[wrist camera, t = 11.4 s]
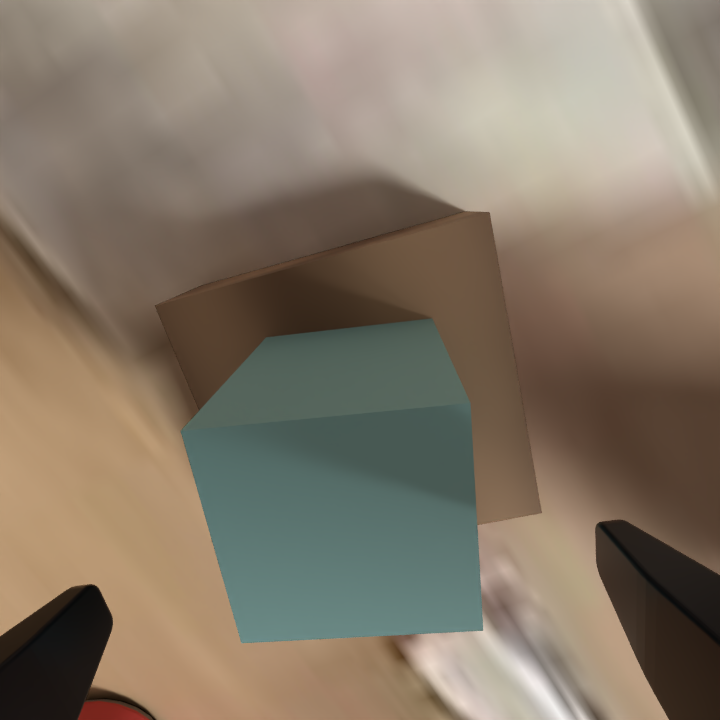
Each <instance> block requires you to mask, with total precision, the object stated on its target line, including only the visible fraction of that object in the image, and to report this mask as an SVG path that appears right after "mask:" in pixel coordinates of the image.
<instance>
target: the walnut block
mask: <svg viewBox="0 0 720 720" xmlns="http://www.w3.org/2000/svg"><path fill="white" fill-rule="evenodd" d="M155 307H156V310H157V312H158V314H159V317H160V319H161V321H162V324H163V326H164V328H165V331H166V333H167V336H168V338H169V340H170V343H171V345H172V347H173V350H174V352H175V354H176V357H177V359H178V361H179V364H180V366H181V369H182V371H183V373H184V376H185V378H186V380H187V383H188V385H189V387H190V390H191V392H192V394H193V397H194V399H195V401H196V404H197V406H198V409H199V410H200V409H201V408H202V407H203V406H204V405H205V404H206V403H207V402H208V401H209V399H210V398H211V397H212V396H213V395H214V394H215V393H216V392H217V391H218V390H219V388H220V387H221V386H222V385H223V384H224V383H225V382H226V381H227V380H228V379H229V378H230V376H231V375H232V374H233V373H234V372H235V371H236V370H237V369H238V368H239V367H240V366H241V364H242V363H243V362H244V361H245V360H246V359H247V358H248V357H249V356H250V355H251V354H252V352H253V351H254V350H255V349H256V348H257V347H258V346H259V345H260V344H261V343H262V341H263V340H264V339H265V338H266V337H274V336H283V335H291V334H300V333H309V332H317V331H326V330H335V329H344V328H352V327H361V326H370V325H379V324H387V323H396V322H405V321H414V320H423V319H431V318H432V319H433V321H434V323H435V326H436V328H437V330H438V332H439V334H440V337H441V339H442V341H443V343H444V346H445V348H446V350H447V352H448V354H449V357H450V359H451V361H452V363H453V365H454V368H455V370H456V372H457V374H458V376H459V379H460V381H461V383H462V385H463V388H464V390H465V392H466V394H467V396H468V399H469V401H470V403H471V421H472V439H473V457H474V475H475V493H476V511H477V525H480V524H486V523H491V522H496V521H502V520H507V519H512V518H517V517H523V516H528V515H533V514H539V513H542V511H541V506H540V500H539V494H538V488H537V483H536V477H535V471H534V465H533V460H532V454H531V448H530V442H529V437H528V431H527V425H526V419H525V414H524V408H523V402H522V396H521V391H520V385H519V379H518V373H517V368H516V362H515V356H514V350H513V345H512V339H511V333H510V327H509V322H508V316H507V310H506V304H505V299H504V293H503V287H502V281H501V276H500V270H499V264H498V258H497V253H496V247H495V241H494V235H493V230H492V224H491V218H490V213H489V212H468V211H465V212H462V213H458V214H455V215H451V216H448V217H444V218H441V219H437V220H433V221H430V222H426V223H423V224H419V225H416V226H412V227H409V228H405V229H401V230H398V231H394V232H391V233H387V234H384V235H380V236H377V237H373V238H369V239H366V240H362V241H359V242H355V243H352V244H348V245H345V246H341V247H337V248H334V249H330V250H327V251H323V252H320V253H316V254H313V255H309V256H305V257H302V258H298V259H295V260H291V261H288V262H284V263H281V264H277V265H273V266H270V267H266V268H263V269H259V270H256V271H252V272H249V273H245V274H241V275H238V276H234V277H231V278H227V279H224V280H220V281H217V282H213V283H209V284H206V285H202V286H200V287H197V288H195V289H193V290H190V291H188V292H186V293H183V294H181V295H179V296H176V297H174V298H172V299H169V300H167V301H165V302H162V303H160V304H158V305H155Z"/></svg>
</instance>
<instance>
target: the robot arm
mask: <svg viewBox="0 0 720 720" xmlns="http://www.w3.org/2000/svg"><path fill="white" fill-rule="evenodd" d="M595 537H596V563H597V568H598V572H599V575H600V577H601V580H602V582H603V584H604V586H605V589H606V591H607V593H608V595H609V598H610V600H611V602H612V604H613V606H614V609H615V611H616V613H617V615H618V618H619V620H620V622H621V624H622V627H623V629H624V631H625V633H626V636H627V638H628V640H629V642H630V645H631V647H632V649H633V651H634V654H635V656H636V658H637V660H638V662H639V664H640V667H641V669H642V671H643V673H644V675H645V677H646V679H647V681H648V683H649V684H650V686H651V688H652V690H653V692H654V694H655V696H656V697H657V699H658V701H659V703H660V704H661V706H662V708H663V710H664V711H665V713H666V715H667V717H668V719H669V720H720V575H719V574H717V573H715V572H714V571H712V570H710V569H708V568H707V567H705V566H703V565H702V564H700V563H698V562H696V561H695V560H693V559H691V558H689V557H688V556H686V555H684V554H682V553H681V552H679V551H677V550H675V549H674V548H672V547H670V546H669V545H667V544H665V543H663V542H662V541H660V540H658V539H656V538H655V537H653V536H651V535H649V534H648V533H646V532H644V531H643V530H641V529H639V528H637V527H636V526H634V525H632V524H630V523H629V522H627V521H624V520H611V521H603V522H599V523H598V524H597V525H596V528H595ZM112 626H113V618H112V615H111V612H110V610H109V608H108V606H107V604H106V602H105V600H104V598H103V596H102V594H101V592H100V590H99V588H98V587H97V586H95V585H92V584H89V585H80V586H74V587H71V588H69V589H68V590H66V591H65V592H63V593H62V594H60V595H59V596H57V597H56V598H55V599H53V600H52V601H50V602H49V603H47V604H46V605H44V606H43V607H42V608H40V609H39V610H37V611H36V612H34V613H33V614H32V615H30V616H29V617H27V618H26V619H24V620H23V621H22V622H20V623H19V624H17V625H16V626H14V627H13V628H11V629H10V630H9V631H7V632H6V633H4V634H3V635H1V636H0V720H78V718H79V715H80V713H81V710H82V708H83V705H84V703H85V700H86V697H87V695H88V692H89V689H90V687H91V684H92V681H93V679H94V676H95V673H96V671H97V668H98V666H99V663H100V660H101V658H102V655H103V652H104V650H105V647H106V644H107V642H108V639H109V636H110V634H111V631H112Z"/></svg>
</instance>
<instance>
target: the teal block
mask: <svg viewBox="0 0 720 720" xmlns="http://www.w3.org/2000/svg"><path fill="white" fill-rule="evenodd" d="M181 434H182V437H183V441H184V444H185V448H186V451H187V455H188V458H189V462H190V465H191V469H192V472H193V476H194V479H195V483H196V486H197V490H198V493H199V497H200V500H201V504H202V507H203V511H204V514H205V518H206V521H207V525H208V528H209V532H210V535H211V539H212V542H213V546H214V549H215V553H216V556H217V560H218V563H219V567H220V570H221V574H222V577H223V581H224V584H225V587H226V591H227V594H228V598H229V601H230V605H231V608H232V612H233V615H234V619H235V622H236V626H237V629H238V633H239V636H240V640H241V643H254V642H273V641H293V640H312V639H331V638H350V637H370V636H389V635H408V634H427V633H447V632H466V631H483V619H482V601H481V583H480V565H479V547H478V529H477V511H476V493H475V475H474V457H473V439H472V421H471V403H470V401H469V399H468V396H467V394H466V392H465V390H464V388H463V385H462V383H461V381H460V379H459V376H458V374H457V372H456V370H455V368H454V365H453V363H452V361H451V359H450V357H449V354H448V352H447V350H446V348H445V346H444V343H443V341H442V339H441V337H440V334H439V332H438V330H437V328H436V326H435V323H434V321H433V319H432V318H431V319H423V320H414V321H405V322H396V323H387V324H379V325H370V326H361V327H352V328H344V329H335V330H326V331H317V332H309V333H300V334H291V335H283V336H274V337H266V338H265V339H264V340H263V341H262V343H261V344H260V345H259V346H258V347H257V348H256V349H255V350H254V351H253V352H252V354H251V355H250V356H249V357H248V358H247V359H246V360H245V361H244V362H243V363H242V364H241V366H240V367H239V368H238V369H237V370H236V371H235V372H234V373H233V374H232V375H231V376H230V378H229V379H228V380H227V381H226V382H225V383H224V384H223V385H222V386H221V387H220V388H219V390H218V391H217V392H216V393H215V394H214V395H213V396H212V397H211V398H210V399H209V401H208V402H207V403H206V404H205V405H204V406H203V407H202V408H201V409H200V410H199V411H198V413H197V414H196V415H195V416H194V417H193V418H192V419H191V420H190V421H189V422H188V423H187V425H186V426H185V427H184V428H183V429H182V430H181Z"/></svg>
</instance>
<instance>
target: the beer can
mask: <svg viewBox="0 0 720 720" xmlns="http://www.w3.org/2000/svg"><path fill="white" fill-rule="evenodd" d="M78 720H153V719H152V717H151V716H150V715H148V714H147V713H145V712H143V711H142V710H140V709H139V708H137V707H135V706H132V705H130V704H127V703H124V702H122V701H116V700H110V699H95V700H86V701H85V703H84V705H83V708H82V710H81V713H80V715H79V718H78Z"/></svg>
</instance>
